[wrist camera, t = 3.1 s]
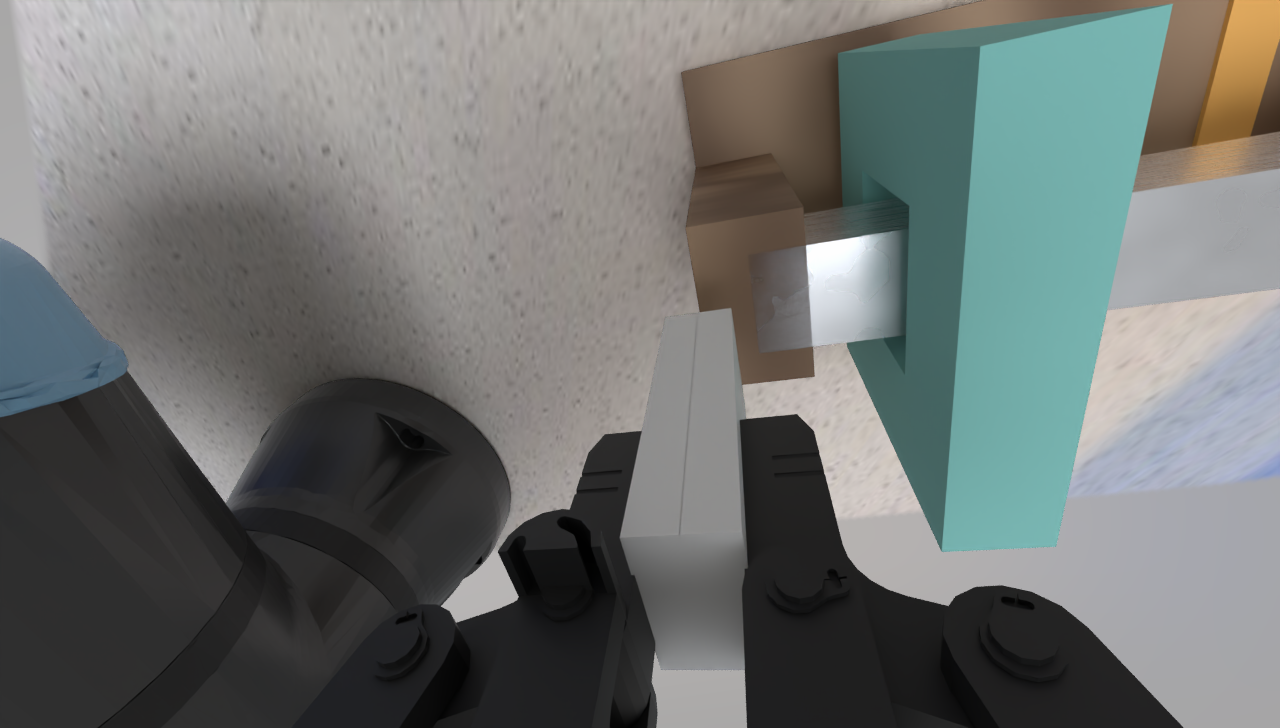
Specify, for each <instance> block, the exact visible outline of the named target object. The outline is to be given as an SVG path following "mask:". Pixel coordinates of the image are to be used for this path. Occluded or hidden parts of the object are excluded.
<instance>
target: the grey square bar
mask: <svg viewBox="0 0 1280 728" xmlns="http://www.w3.org/2000/svg"><path fill="white" fill-rule="evenodd" d="M804 222H805V238H806V246H805V247H804V246H803V248H802V247H801V246H799V249H797V248H795V247H793V248H792V249H791V250H792V252H793V251H794V250H796V251H794V252H795V253H796V252H797V251H799V250H801V249H800V248H802V249H803V250H802V251H800V252H803V251H804V248H805V251H806V252H805V253H806V255H807V256H806V258H805V260H807V264H806V263H803V264H804V265H806V266H807V268H808V271H807V272H806V274H804V273H805V272H804V273H802V272H801V271H802V270H803V269H804V271H805V269H807V268H806V267H804V266H803V264H802V263H801V261H802V260H801V261H799V262H798V263H797V262H796V261H798V259H797V258H798V257H799V256H800V257H801V256H803V258H804V256H805V253H803V254H804V255H802V254H801V253H800V254H801V255H800V254H799V252H798V254H799V256H797V257H794V259H792V257H791V259H792V260H795V259H797V260H796V261H792V260H791V261H792V263H794V262H796V264H794V265H793V264H792V263H789V264H790V265H791V264H792V265H791V266H792V267H791V266H789V267H790V268H792V270H794V269H795V268H796V267H797V266H799V265H800V263H801V264H802V265H801V266H802V267H801V266H799V267H800V268H803V269H802V270H800V268H799V267H798V268H799V269H798V268H796V269H798V271H797V270H796V269H795V271H792V270H791V269H790V268H789V269H788V268H787V266H788V265H787V264H788V261H787V262H786V261H784V262H785V263H784V265H785V266H786V267H785V266H784V265H783V266H784V267H783V266H781V267H782V268H781V267H780V266H778V267H780V269H779V271H778V270H777V268H778V267H777V268H776V271H775V272H777V271H778V273H779V274H780V273H781V272H782V271H783V268H786V271H785V270H784V271H783V273H785V272H786V274H787V273H789V272H790V271H788V270H791V276H793V275H794V276H793V277H795V275H796V274H797V272H799V270H800V272H801V274H803V275H804V276H803V277H802V276H801V277H802V278H804V280H802V279H800V278H798V276H799V275H798V276H797V275H796V276H797V277H795V279H796V278H798V279H799V280H802V281H803V282H805V281H807V280H806V279H807V278H808V284H805V285H807V286H808V288H809V289H807V288H805V287H804V288H805V289H806V293H805V294H807V292H808V293H809V296H808V297H807V300H808V298H809V300H810V303H809V300H808V301H807V300H806V298H805V297H806V295H804V296H805V297H804V296H803V294H804V293H803V292H805V291H803V289H802V288H803V286H804V285H803V284H802V285H803V286H802V285H801V287H800V288H797V287H798V286H799V282H800V281H799V280H798V281H799V282H798V286H797V285H796V286H795V287H794V288H796V289H797V290H796V289H795V290H796V293H797V292H798V289H800V291H801V290H802V292H801V293H800V292H798V293H797V294H799V296H798V298H802V300H801V301H800V304H799V302H798V303H797V301H798V299H797V297H796V296H795V295H797V294H795V293H794V291H795V290H794V289H793V288H792V289H791V286H792V284H791V283H790V282H791V280H788V282H789V283H788V284H789V286H790V285H791V286H790V288H789V287H787V286H788V284H787V283H786V285H787V286H786V285H784V284H783V283H784V282H783V281H784V278H785V277H787V278H788V277H789V276H790V273H789V276H785V277H784V278H783V276H782V275H785V274H783V273H781V276H782V277H781V278H783V280H781V279H780V280H781V281H782V282H783V283H782V282H781V281H780V282H781V283H782V284H783V285H784V286H783V287H784V288H785V286H786V287H787V288H788V289H790V290H791V291H793V290H794V291H793V292H791V291H790V292H791V293H790V294H789V295H788V294H787V293H788V292H789V290H788V289H787V291H786V290H785V289H784V288H783V287H782V289H784V290H785V292H786V293H785V292H784V291H783V290H781V289H780V287H781V286H780V285H781V284H779V286H777V287H779V289H777V290H779V291H783V292H784V295H785V294H787V295H788V296H789V297H787V296H786V297H785V298H786V299H785V298H781V297H782V296H783V297H784V295H783V294H781V295H780V294H779V295H778V294H777V295H778V296H779V297H780V296H781V297H780V298H781V299H782V300H783V299H785V300H786V301H787V299H788V301H789V302H791V301H792V300H794V299H797V301H796V303H795V302H794V303H795V304H792V303H790V304H791V305H794V306H796V304H797V306H796V307H797V308H795V309H796V311H797V313H796V315H795V316H796V318H795V316H794V318H793V317H792V316H793V315H794V314H795V311H793V312H794V314H792V313H791V314H789V315H790V316H789V315H788V314H787V313H786V314H785V315H786V316H785V315H784V317H786V318H783V319H782V318H781V321H783V320H784V319H785V320H786V319H787V321H785V320H784V322H786V323H784V322H783V323H784V326H786V327H784V326H783V323H782V322H781V321H780V320H779V321H780V322H781V323H782V326H781V325H780V324H781V323H780V322H779V321H778V320H777V321H778V323H779V325H780V326H779V325H778V323H777V324H775V326H776V325H777V326H778V327H779V328H778V330H780V329H781V328H782V329H783V327H784V328H787V327H790V325H791V323H794V322H795V321H794V320H796V319H797V320H798V321H797V320H796V321H797V322H798V323H797V322H795V323H796V324H795V325H793V324H792V325H793V326H794V328H793V326H792V325H791V328H792V330H795V328H796V329H797V327H795V326H798V329H797V330H798V333H797V330H795V332H794V331H791V328H789V329H790V330H789V329H788V328H787V330H789V331H787V330H786V329H785V332H787V334H788V332H789V334H790V332H792V333H794V334H795V333H796V334H798V337H797V336H796V337H795V338H793V337H794V334H792V333H791V334H790V335H791V336H790V335H789V336H790V337H791V338H793V339H792V340H791V339H788V338H790V337H788V335H787V334H786V333H785V332H784V330H783V331H782V332H784V333H785V334H786V335H787V336H786V337H788V338H787V339H788V340H789V341H790V340H791V342H792V344H791V343H790V342H789V341H788V340H787V339H786V337H784V336H783V333H782V332H781V330H782V329H781V330H780V331H778V330H777V331H778V332H779V333H780V332H781V333H780V334H779V333H778V334H777V333H776V335H775V337H774V336H773V334H775V333H774V332H775V331H773V329H774V330H776V329H777V326H776V329H775V328H773V329H772V331H773V332H772V335H771V334H769V336H772V337H771V338H772V341H771V342H772V343H773V339H774V338H776V339H777V338H778V337H776V336H777V335H779V339H778V340H776V339H775V340H776V342H777V343H778V342H779V340H780V339H781V338H780V336H781V334H782V336H781V337H783V339H784V338H785V339H784V340H785V341H786V340H787V341H788V342H787V341H786V342H787V343H783V341H784V340H783V339H781V340H780V342H779V343H780V344H781V345H782V343H783V344H784V345H785V346H783V345H782V347H780V346H781V345H780V346H779V347H778V346H777V345H776V344H777V343H776V342H775V343H776V344H775V343H774V346H773V345H772V343H771V345H772V347H773V349H774V348H775V346H777V348H776V349H775V350H776V351H777V350H778V349H779V348H780V350H782V348H783V347H784V348H785V350H788V349H790V347H791V346H792V345H793V346H792V347H793V348H794V347H795V348H796V347H797V345H799V343H800V342H797V340H798V338H799V337H800V336H801V337H802V339H799V341H800V340H801V341H802V342H803V345H804V346H803V345H802V343H800V345H801V346H800V345H799V346H800V348H802V347H803V348H805V347H810V344H811V346H812V345H813V346H812V347H814V346H823V345H831V344H839V343H847V342H855V341H863V340H871V339H879V338H887V337H895V336H903V335H906V318H907V280H908V241H909V205H907V204H906V203H905V202H903V201H902V200H901V199H899V198H894V199H888V200H882V201H877V202H871V203H865V204H859V205H854V206H848V207H842V208H836V209H831V210H825V211H819V212H813V213H808V214H804ZM789 249H790V248H789ZM793 249H794V250H793ZM781 250H782V249H781ZM781 250H780V251H781ZM784 250H785V252H787V251H786V249H784ZM777 251H778V250H777ZM777 251H775V252H776V253H778V252H777ZM788 251H789V250H788ZM772 252H773V254H776V253H774V251H772ZM782 252H783V251H782ZM794 252H793V253H792V254H793V256H794ZM763 253H765V252H763ZM763 253H761V254H763ZM767 253H768V252H767ZM769 253H770V252H769ZM769 253H768V254H769ZM780 253H781V252H780ZM783 253H784V252H783ZM790 253H791V252H790ZM790 253H789V252H788V254H790ZM761 254H760V255H761ZM750 255H751V254H750ZM752 255H753V254H752ZM757 255H758V254H757ZM764 255H765V254H764ZM770 255H771V256H772V254H771V253H770ZM776 255H778V254H776ZM781 255H782V256H783V254H782V253H781ZM781 255H780V254H779V257H782V256H781ZM784 255H785V253H784ZM790 255H791V254H790ZM765 256H767V255H765ZM768 256H769V255H768ZM774 256H775V255H773V260H771V261H770V262H771V263H772V261H775V260H774V259H775V258H774ZM787 256H789V255H787ZM757 257H758V256H755V257H754V258H757ZM762 257H763V256H762ZM762 257H761V258H762ZM769 257H770V256H769ZM775 257H777V259H778V256H775ZM800 257H799V258H800ZM758 258H759V257H758ZM758 258H757V259H758ZM761 258H760V259H761ZM765 258H766V257H765ZM801 258H802V257H801ZM801 258H800V259H801ZM803 258H802V259H803ZM762 259H764V258H762ZM762 259H761V261H760V260H759V261H760V262H759V261H758V263H759V264H761V262H762V261H764V260H762ZM766 259H768V257H767V258H766ZM770 259H772V257H771V258H770ZM777 259H776V260H777ZM783 259H785V260H786V259H788V258H783ZM783 259H782V260H783ZM749 260H750V259H749ZM779 260H780V259H779ZM779 260H777V261H778V262H779ZM788 260H790V259H788ZM803 260H804V259H803ZM805 260H804V262H806V261H805ZM753 261H756V260H754V259H753ZM791 261H790V262H791ZM751 262H752V261H751ZM756 263H757V262H756ZM749 264H750V263H749ZM754 264H755V263H754ZM767 264H768V262H767ZM767 264H766V266H768V265H769V264H768V265H767ZM775 264H776V263H775ZM781 264H782V262H781ZM781 264H779V263H778V265H781ZM797 264H798V265H797ZM751 266H752V265H751ZM755 266H756V265H755ZM757 266H758V265H757ZM757 266H756V267H757ZM774 266H775V265H774ZM776 266H777V264H776ZM795 266H796V267H795ZM761 267H763V265H762V266H760V268H758V269H759V270H760V269H761ZM771 267H772V265H771ZM793 267H795V268H794V269H793ZM750 268H751V267H750ZM750 268H749V269H750ZM753 268H754V267H753ZM753 268H751V269H753ZM763 268H764V267H763ZM774 268H775V267H774ZM764 269H765V270H766V268H764ZM768 269H769V270H770V269H771V268H769V267H768ZM768 269H767V270H768ZM781 269H782V270H781ZM771 270H775V269H773V268H772V269H771ZM771 270H770V271H771ZM787 271H788V272H787ZM796 271H797V272H796ZM752 272H753V271H752ZM752 272H751V274H752ZM755 272H756V273H757V272H759V271H755ZM767 272H768V271H767ZM767 272H766V273H767ZM792 272H793V273H794V274H792ZM795 272H796V273H795ZM753 273H754V272H753ZM756 273H755V274H756ZM760 273H761V272H760ZM763 273H765V271H763ZM763 273H761V274H760V275H762V274H763ZM766 273H765V274H766ZM768 273H769V272H768ZM773 273H774V271H773ZM807 273H808V275H807ZM769 274H770V273H769ZM771 274H772V271H771ZM771 274H770V275H769V276H771ZM775 274H776V273H775ZM775 274H774V275H775ZM779 274H778V275H777V276H776V277H778V276H779ZM801 274H800V275H801ZM758 275H759V274H758ZM758 275H757V276H758ZM760 275H759V276H760ZM763 275H764V274H763ZM805 275H806V276H807V277H806V276H805ZM750 276H753V274H752V275H750ZM755 276H756V275H755ZM755 276H754V277H753V279H752V280H753V282H754V278H755ZM757 276H756V277H757ZM767 276H768V275H767ZM769 276H768V277H769ZM772 276H773V275H772ZM763 277H764V276H763ZM774 277H775V276H774ZM776 277H775V279H776ZM779 277H780V276H779ZM793 277H792V279H793V281H795V279H794V278H793ZM750 278H751V277H750ZM759 278H760V277H759ZM769 278H770V277H769ZM769 278H768V279H769ZM756 279H758V277H757V278H756ZM763 279H765V278H763ZM763 279H762V280H763ZM790 279H791V278H790ZM765 280H766V279H765ZM769 280H770V279H769ZM772 280H774V278H773V279H772ZM777 280H778V279H777ZM796 280H797V279H796ZM755 281H756V280H755ZM759 281H760V280H759ZM774 281H775V280H774ZM802 281H801V282H802ZM763 282H764V281H763ZM769 282H770V281H768V285H769ZM772 282H773V281H772ZM785 282H786V280H785ZM801 282H800V283H801ZM757 283H759V282H757ZM757 283H756V284H757ZM766 283H767V282H765V284H766ZM776 283H779V281H777V282H776ZM793 283H794V284H795V283H796V284H797V282H793ZM805 283H807V282H805ZM759 284H761V283H759ZM752 285H753V284H752ZM754 285H755V284H754ZM768 285H766V286H767V287H770V285H772V283H771V284H770V285H769V286H768ZM775 285H776V284H775ZM757 286H758V285H757ZM763 286H764V285H763ZM763 286H761V289H762V287H763ZM764 287H765V286H764ZM772 287H773V285H772ZM772 287H771V288H770V289H772ZM777 287H774V288H777ZM792 287H793V286H792ZM752 288H753V286H752ZM759 289H760V288H759ZM759 289H755V290H759ZM764 289H765V288H764ZM767 289H768V288H767ZM767 289H766V291H768V290H767ZM770 289H769V290H770ZM805 289H804V290H805ZM1273 289H1280V132H1274V133H1268V134H1263V135H1257V136H1251V137H1245V138H1239V139H1234V140H1228V141H1222V142H1216V143H1211V144H1205V145H1199V146H1193V147H1188V148H1182V149H1176V150H1170V151H1165V152H1159V153H1153V154H1147V155H1142V156H1140V159H1139V164H1138V168H1137V173H1136V178H1135V182H1134V187H1133V192H1132V196H1131V201H1130V206H1129V210H1128V215H1127V219H1126V224H1125V229H1124V233H1123V238H1122V243H1121V247H1120V252H1119V257H1118V261H1117V266H1116V271H1115V275H1114V280H1113V284H1112V289H1111V294H1110V298H1109V303H1108V308H1107V310H1112V309H1120V308H1128V307H1136V306H1144V305H1153V304H1161V303H1169V302H1177V301H1185V300H1193V299H1201V298H1209V297H1217V296H1225V295H1233V294H1241V293H1249V292H1257V291H1265V290H1273ZM764 291H765V290H763V292H764ZM766 291H765V292H766ZM770 291H771V290H770ZM770 291H768V294H769V296H771V295H770V294H772V293H773V292H772V293H770ZM772 291H773V289H772ZM779 291H778V292H779ZM756 292H757V291H756ZM763 292H761V295H763V294H765V293H763ZM774 292H776V290H775V291H774ZM757 293H759V291H758V292H757ZM762 293H763V294H762ZM776 293H777V292H776ZM781 293H782V292H781ZM793 293H794V294H795V295H793V296H794V297H793V296H790V295H792V294H793ZM752 294H753V292H752ZM754 294H755V295H756V293H754ZM768 294H766V295H767V296H768ZM800 294H801V295H802V296H803V297H804V298H803V297H802V296H800ZM761 295H758V296H760V299H761V297H762V296H761ZM774 295H775V293H773V295H772V296H771V297H770V298H778V296H777V297H773V296H774ZM807 295H808V294H807ZM758 296H757V295H756V297H758ZM767 296H765V295H764V297H766V298H769V297H767ZM790 297H791V301H790V300H789V298H790ZM792 297H793V298H794V299H792ZM754 298H755V297H754V296H753V299H754ZM766 298H764V300H763V301H765V299H766ZM770 298H769V299H770ZM757 299H758V298H757ZM757 299H755V300H757ZM762 299H763V297H762ZM773 300H774V299H773ZM773 300H771V301H772V302H773V303H775V301H777V305H776V304H774V305H775V306H777V307H778V305H779V302H780V301H782V300H780V301H778V300H777V299H775V300H774V301H773ZM785 300H784V301H785ZM799 300H800V299H799ZM804 300H806V302H804ZM753 301H754V300H753ZM763 301H762V303H763ZM771 301H768V302H769V303H770V304H771V303H772V302H771ZM784 301H782V302H783V303H784V304H785V302H786V301H785V302H784ZM757 302H759V301H757ZM792 302H793V301H792ZM803 302H804V304H803V305H805V306H802V307H800V305H801V303H803ZM754 303H755V302H754ZM760 303H761V300H760ZM760 303H759V305H760V306H761V305H762V304H760ZM766 303H767V301H766ZM766 303H764V306H765V307H767V306H770V305H769V304H768V305H767V304H766ZM773 303H772V304H773ZM765 304H766V305H765ZM772 304H771V305H772ZM781 304H782V303H781ZM787 304H788V306H789V305H790V304H789V303H788V302H787ZM807 304H808V305H807ZM757 305H758V304H757ZM774 305H772V306H774ZM782 305H783V304H782ZM791 305H790V306H791ZM762 306H763V305H762ZM764 306H763V307H762V309H763V308H765V307H764ZM772 306H770V307H767V310H768V309H769V308H771V310H770V311H773V312H775V311H774V310H772V308H773V307H772ZM780 306H781V305H780ZM780 306H779V308H780ZM783 306H784V305H783ZM783 306H782V307H783ZM786 306H787V305H786ZM786 306H784V307H786ZM788 306H787V308H788V310H787V311H788V313H790V311H791V310H792V308H793V307H794V306H791V307H792V308H791V307H790V306H789V307H790V308H789V307H788ZM754 307H755V306H754ZM757 307H758V306H757ZM782 307H781V308H782ZM798 307H799V308H803V307H804V308H803V309H798ZM805 307H809V308H807V309H808V310H809V309H810V313H809V315H808V312H809V311H808V310H805V313H804V311H801V310H804V309H805ZM758 308H759V307H758ZM758 308H757V309H755V310H758ZM760 308H761V307H760ZM779 308H778V309H779ZM781 308H780V309H781ZM787 308H785V309H787ZM774 309H775V310H776V308H774ZM778 309H777V310H776V312H775V313H774V314H772V313H773V312H771V313H770V314H768V315H767V317H770V315H771V314H772V316H771V317H773V316H774V315H775V314H777V316H778V318H777V316H776V315H775V316H776V318H777V319H779V318H780V317H781V315H782V314H784V312H785V311H783V312H782V311H781V310H778ZM782 309H783V308H782ZM785 309H783V310H785ZM793 309H794V308H793ZM798 310H800V311H798ZM762 311H763V310H761V311H760V312H761V313H763V315H765V314H766V313H765V314H764V312H762ZM778 311H779V312H782V313H779V315H780V316H779V315H778V313H777V312H778ZM807 311H808V312H807ZM760 312H758V313H760ZM765 312H767V313H769V312H768V311H766V310H765ZM798 312H800V313H801V312H803V314H800V313H798ZM806 312H807V317H806ZM755 313H757V312H756V311H755ZM797 314H799V316H798V317H797ZM810 314H811V315H810ZM759 315H760V314H758V315H755V316H757V317H758V316H759ZM763 315H762V316H763ZM791 315H792V316H791ZM804 315H805V316H804ZM760 316H761V315H760ZM787 316H788V317H792V318H793V319H792V320H791V319H790V318H787ZM809 316H811V317H809ZM757 317H755V318H756V319H757ZM802 317H803V318H804V317H805V319H803V318H802ZM763 318H765V320H768V318H766V315H765V317H764V316H763ZM763 318H762V317H759V318H758V319H762V320H763V321H764V322H765V324H767V323H768V322H766V321H765V320H764V319H763ZM808 318H809V320H810V321H806V320H807V319H808ZM770 319H771V318H770ZM800 319H802V321H803V322H804V323H805V322H806V323H805V327H804V325H803V324H804V323H802V321H801V320H800ZM771 320H775V318H774V317H773V319H771ZM788 320H789V321H790V322H789V321H788ZM799 320H800V321H799ZM777 321H775V322H777ZM792 321H793V322H792ZM758 322H760V320H759V321H758V320H757V322H756V324H757V323H758ZM761 322H762V321H761ZM770 322H771V321H770ZM770 322H769V323H768V324H771V323H770ZM775 322H773V324H771V325H773V326H770V325H769V326H768V325H765V324H764V323H762V325H763V326H764V325H765V326H764V327H763V326H762V325H761V326H759V327H758V326H757V329H756V330H757V333H759V334H763V333H762V332H763V331H765V330H764V329H766V328H765V327H766V326H768V327H769V329H768V328H767V329H766V331H767V330H769V331H770V329H771V328H772V327H775V326H774V323H775ZM807 322H808V323H807ZM787 323H788V326H787ZM799 323H800V324H799ZM810 323H811V324H810ZM760 324H761V323H760ZM760 324H759V325H760ZM785 324H786V325H785ZM789 324H790V325H789ZM809 324H810V325H809ZM757 325H758V324H757ZM799 325H801V326H802V325H803V326H802V327H803V328H801V326H799ZM807 326H809V327H807ZM806 327H807V328H808V329H809V330H808V329H807V330H806V329H805V328H806ZM760 328H763V331H762V329H760ZM803 329H804V331H802V332H801V331H800V330H803ZM760 330H761V333H760V332H758V331H760ZM805 330H806V331H807V332H806V331H805ZM810 330H812V331H811V332H810V333H811V334H810V335H807V336H806V339H804V338H805V335H806V334H807V333H808V334H809V331H810ZM769 331H768V332H769ZM777 331H776V332H777ZM768 332H766V333H767V334H768ZM799 332H800V334H801V333H802V334H803V335H799ZM804 332H805V333H806V334H805V333H804ZM759 334H758V336H757V338H758V339H759V337H760V335H759ZM811 335H812V336H811ZM764 336H765V337H769V336H768V335H767V336H766V335H765V333H764ZM808 336H809V337H808ZM761 337H762V336H761ZM773 337H774V338H773ZM807 337H808V338H809V339H810V337H811V339H812V340H811V339H810V340H809V342H807V343H806V341H808V340H807V339H808V338H807ZM769 338H770V337H769ZM769 338H767V339H766V338H765V339H766V340H769ZM762 339H764V337H763V338H762ZM762 339H760V340H759V341H761V340H762ZM796 339H797V340H796ZM803 339H804V340H803ZM775 340H774V341H775ZM759 341H758V343H759V344H760V343H761V342H764V341H761V342H759ZM785 341H784V342H785ZM794 341H796V342H794ZM765 342H766V341H765ZM765 342H764V343H765ZM781 342H782V343H781ZM804 342H805V343H806V344H807V345H806V344H805V343H804ZM766 343H767V342H766ZM779 343H778V345H779ZM788 343H790V344H789V346H790V347H789V346H788ZM794 343H795V344H794ZM797 343H798V344H797ZM808 343H809V345H808ZM796 344H797V345H796ZM761 345H762V344H761ZM761 345H759V346H760V347H761V348H760V347H759V349H763V348H762V346H764V345H765V344H763V345H762V346H761ZM766 345H768V346H770V341H769V344H768V343H767V344H766ZM795 345H796V346H795ZM787 346H788V347H789V348H788V349H786V347H787ZM792 347H791V348H792ZM766 348H767V349H771V350H773V349H772V348H770V347H769V348H768V347H766ZM784 348H783V349H784ZM797 348H799V347H797ZM771 350H768V351H767V350H766V349H765V351H767V352H771ZM780 350H779V351H780ZM773 351H774V350H773ZM760 352H761V351H760ZM760 352H759V353H760ZM763 352H764V351H763ZM763 352H762V353H763Z"/></svg>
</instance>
